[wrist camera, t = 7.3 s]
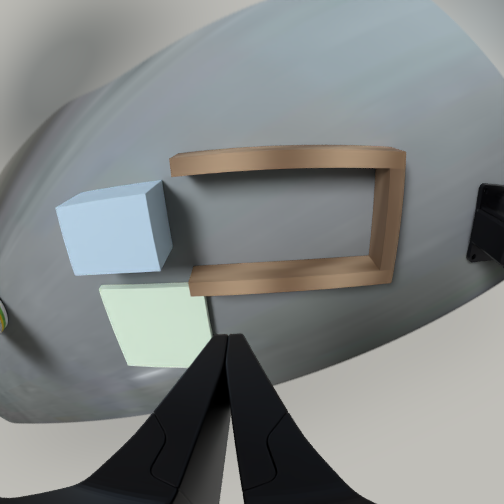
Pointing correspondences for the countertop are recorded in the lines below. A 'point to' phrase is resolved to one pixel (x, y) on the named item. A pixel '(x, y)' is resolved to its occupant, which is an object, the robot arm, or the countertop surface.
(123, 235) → the block
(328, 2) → the countertop surface
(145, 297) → the mat
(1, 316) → the supplement bottle
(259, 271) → the u-shaped frame
